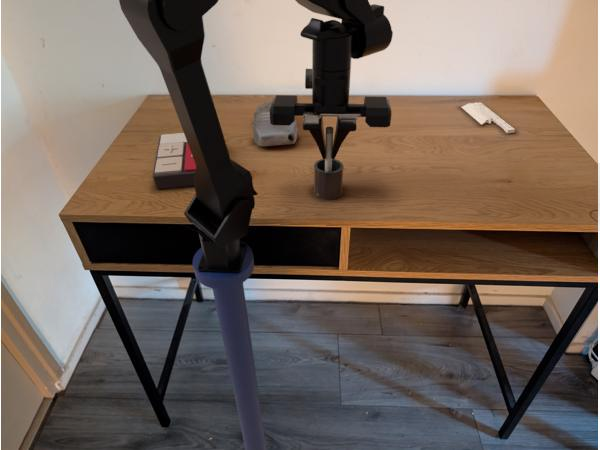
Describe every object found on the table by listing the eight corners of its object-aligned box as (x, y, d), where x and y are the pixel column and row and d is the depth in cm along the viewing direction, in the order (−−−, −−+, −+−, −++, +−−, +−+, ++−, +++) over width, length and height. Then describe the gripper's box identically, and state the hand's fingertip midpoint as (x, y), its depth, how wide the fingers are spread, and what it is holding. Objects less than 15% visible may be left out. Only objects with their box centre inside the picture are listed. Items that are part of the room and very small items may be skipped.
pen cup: (342, 200, 76) (343, 173, 73) (313, 199, 76) (313, 172, 73) (342, 184, 80) (343, 158, 77) (314, 183, 80) (314, 157, 77)
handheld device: (289, 109, 107) (289, 91, 104) (300, 149, 91) (300, 129, 88) (250, 112, 106) (248, 94, 103) (255, 152, 90) (253, 132, 87)
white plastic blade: (492, 135, 94) (493, 130, 94) (461, 107, 106) (462, 103, 105) (514, 132, 95) (515, 128, 94) (480, 105, 106) (481, 101, 106)
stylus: (331, 186, 77) (333, 129, 70) (324, 186, 77) (325, 129, 70) (331, 182, 78) (333, 126, 71) (324, 182, 78) (325, 126, 71)
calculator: (151, 173, 77) (158, 131, 88) (156, 192, 80) (163, 150, 91) (213, 167, 78) (212, 127, 89) (216, 186, 81) (215, 145, 92)
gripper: (390, 49, 70) (380, 137, 80) (275, 48, 71) (279, 135, 81) (397, 73, 61) (385, 168, 71) (266, 72, 62) (272, 165, 72)
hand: (328, 158), depth 74 cm, fingers closed on stylus, 1 cm apart
